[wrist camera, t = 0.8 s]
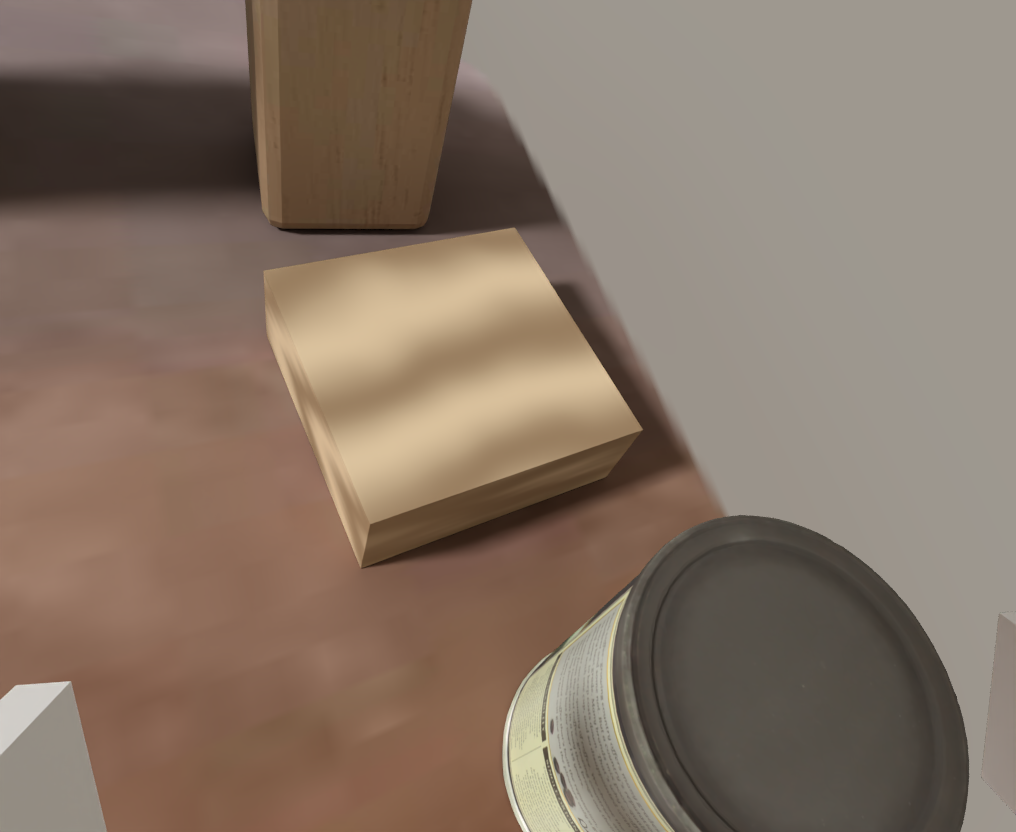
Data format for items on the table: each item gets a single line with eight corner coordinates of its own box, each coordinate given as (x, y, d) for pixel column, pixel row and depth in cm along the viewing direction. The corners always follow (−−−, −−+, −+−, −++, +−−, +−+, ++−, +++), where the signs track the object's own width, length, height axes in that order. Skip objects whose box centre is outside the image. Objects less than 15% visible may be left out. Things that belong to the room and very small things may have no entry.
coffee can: (579, 593, 35) (721, 453, 23) (757, 736, 33) (1003, 661, 21) (448, 781, 29) (549, 717, 17) (655, 965, 27) (919, 1030, 16)
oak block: (266, 335, 38) (263, 270, 34) (494, 287, 44) (514, 227, 40) (360, 568, 32) (370, 524, 28) (606, 477, 39) (642, 429, 34)
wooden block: (402, 133, 50) (454, -227, 34) (430, 235, 45) (506, -126, 29) (251, 125, 46) (228, -279, 30) (264, 235, 42) (244, -174, 25)
